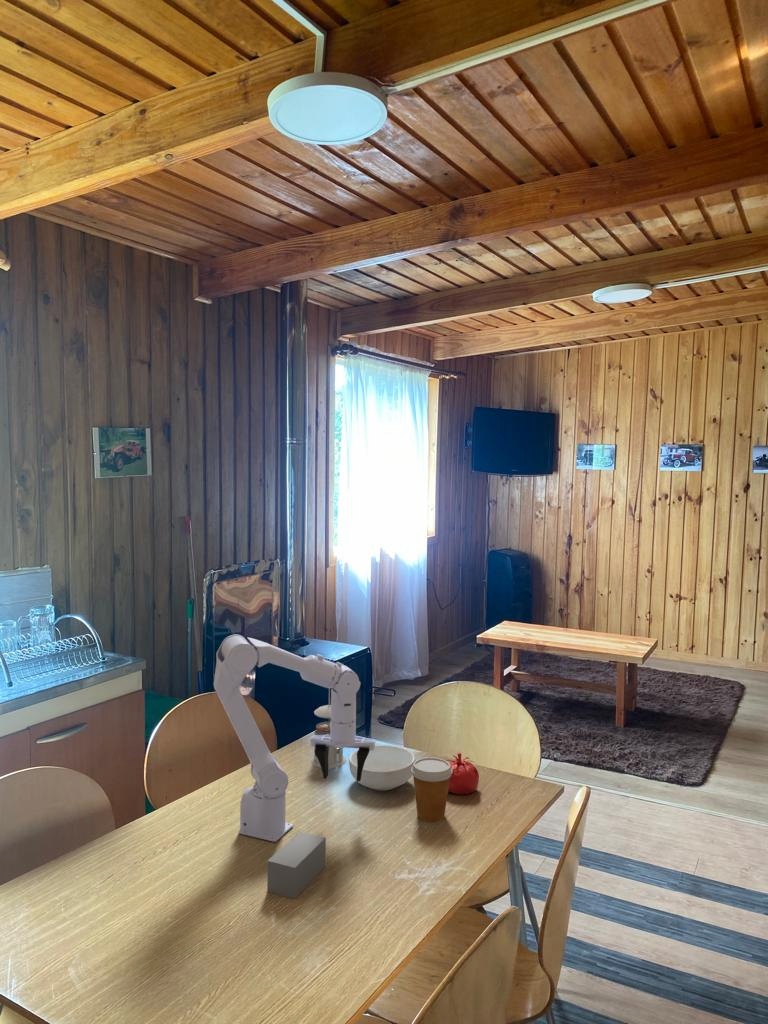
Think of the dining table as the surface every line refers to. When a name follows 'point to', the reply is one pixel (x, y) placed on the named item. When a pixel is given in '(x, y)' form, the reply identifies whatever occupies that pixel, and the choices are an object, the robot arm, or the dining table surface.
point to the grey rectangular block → (296, 864)
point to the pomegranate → (463, 776)
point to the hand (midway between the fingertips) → (342, 778)
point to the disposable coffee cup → (431, 787)
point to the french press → (324, 728)
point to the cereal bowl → (384, 767)
